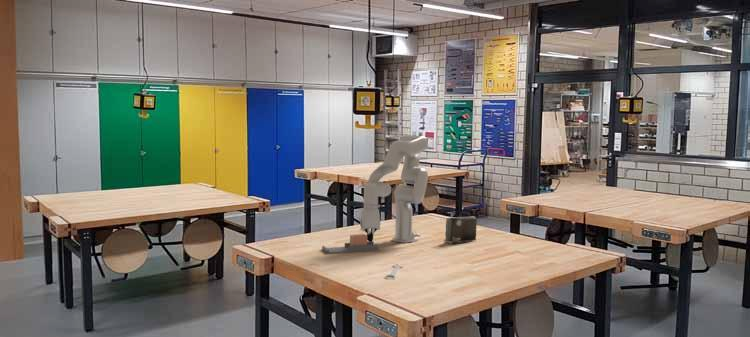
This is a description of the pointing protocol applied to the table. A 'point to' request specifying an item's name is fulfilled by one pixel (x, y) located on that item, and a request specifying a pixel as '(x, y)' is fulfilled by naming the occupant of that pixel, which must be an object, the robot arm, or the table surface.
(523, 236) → the table surface
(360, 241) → the block
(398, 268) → the wrench
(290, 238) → the table surface
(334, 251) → the chute
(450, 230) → the radio
